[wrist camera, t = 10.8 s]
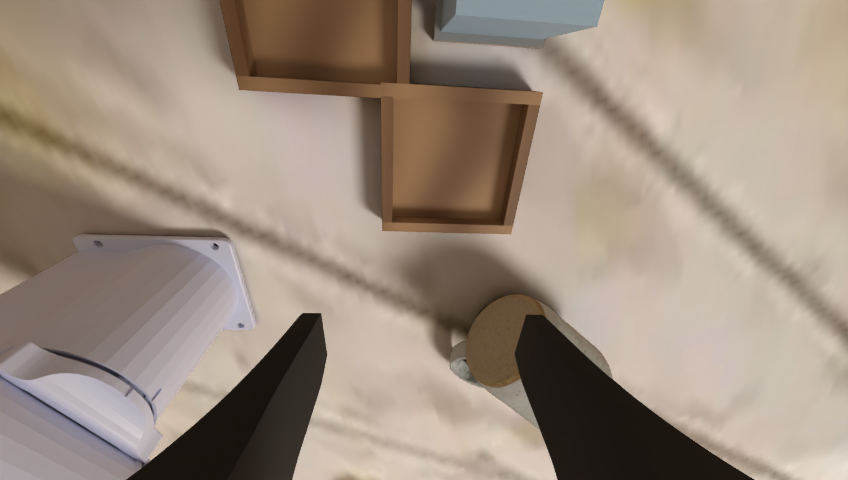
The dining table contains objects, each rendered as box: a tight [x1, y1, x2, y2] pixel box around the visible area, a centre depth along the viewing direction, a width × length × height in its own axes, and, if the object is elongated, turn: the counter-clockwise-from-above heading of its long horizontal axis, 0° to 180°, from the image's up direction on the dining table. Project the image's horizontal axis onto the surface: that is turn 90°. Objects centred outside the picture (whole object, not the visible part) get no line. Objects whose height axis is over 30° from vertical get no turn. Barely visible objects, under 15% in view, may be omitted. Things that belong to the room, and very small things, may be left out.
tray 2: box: [381, 82, 543, 234], centre depth 18 cm, size 8×8×1 cm
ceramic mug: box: [450, 294, 613, 429], centre depth 23 cm, size 11×8×8 cm
